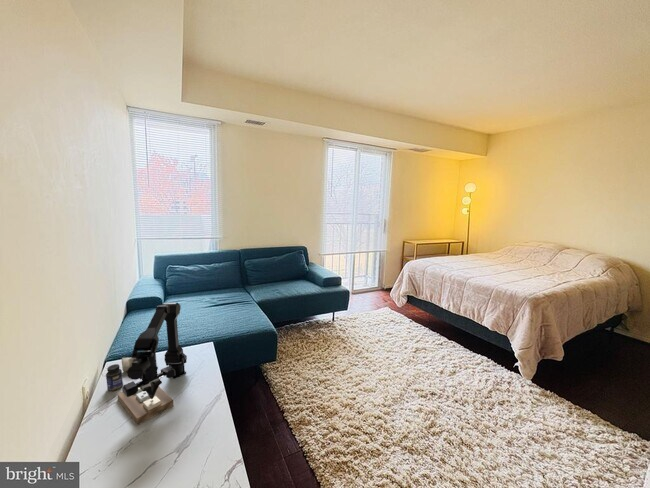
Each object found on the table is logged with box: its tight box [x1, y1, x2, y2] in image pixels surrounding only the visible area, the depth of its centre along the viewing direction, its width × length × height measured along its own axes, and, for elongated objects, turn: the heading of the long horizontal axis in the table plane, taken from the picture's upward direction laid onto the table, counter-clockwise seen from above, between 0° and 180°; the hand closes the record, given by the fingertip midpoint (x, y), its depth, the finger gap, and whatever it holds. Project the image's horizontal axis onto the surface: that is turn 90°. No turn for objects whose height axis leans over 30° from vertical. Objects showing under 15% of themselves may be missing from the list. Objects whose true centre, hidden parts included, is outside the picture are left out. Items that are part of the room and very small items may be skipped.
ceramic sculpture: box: [121, 356, 136, 373], centre depth 151 cm, size 11×9×15 cm
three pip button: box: [136, 391, 150, 403], centre depth 126 cm, size 5×5×3 cm
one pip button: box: [143, 396, 161, 411], centre depth 121 cm, size 5×5×3 cm
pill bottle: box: [105, 363, 124, 392], centre depth 136 cm, size 6×6×11 cm
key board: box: [117, 383, 175, 426], centre depth 126 cm, size 14×24×3 cm, turn 52°
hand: (151, 398), depth 121 cm, fingers closed
